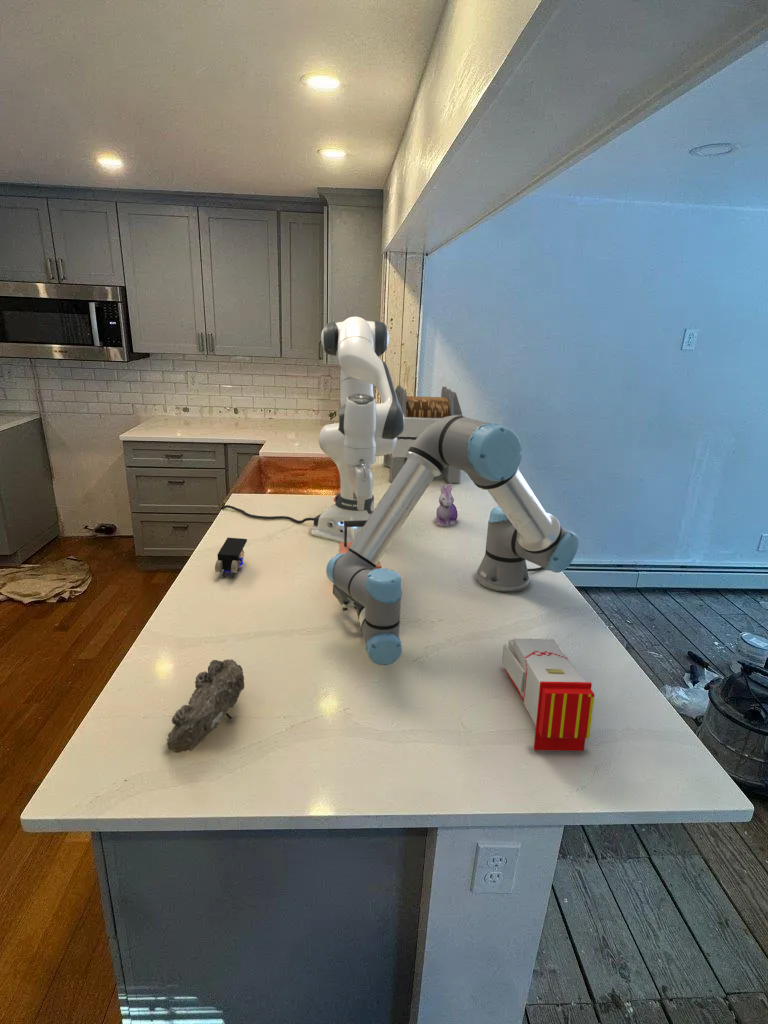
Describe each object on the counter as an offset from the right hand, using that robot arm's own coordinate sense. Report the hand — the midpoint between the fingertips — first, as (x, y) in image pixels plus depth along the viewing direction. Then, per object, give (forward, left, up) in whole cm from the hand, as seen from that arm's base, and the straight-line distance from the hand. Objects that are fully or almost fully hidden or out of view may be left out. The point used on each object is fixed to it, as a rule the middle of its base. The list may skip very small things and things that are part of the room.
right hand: (361, 574), depth 154 cm
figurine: (-39, -53, -6) cm, 67 cm away
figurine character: (+36, -19, -6) cm, 41 cm away
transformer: (-45, -120, -6) cm, 128 cm away
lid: (0, -5, +3) cm, 6 cm away
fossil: (+35, +45, -6) cm, 57 cm away
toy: (-30, +49, -6) cm, 58 cm away
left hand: (0, -11, +16) cm, 20 cm away
